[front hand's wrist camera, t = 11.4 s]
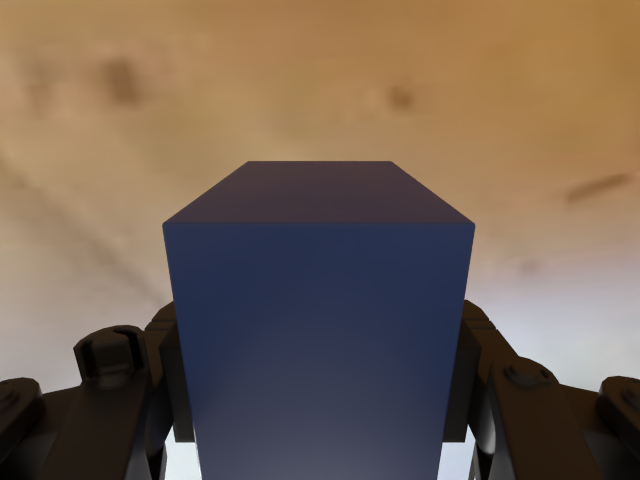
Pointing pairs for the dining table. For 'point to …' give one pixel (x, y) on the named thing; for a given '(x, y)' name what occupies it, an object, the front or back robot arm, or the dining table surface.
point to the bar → (318, 320)
